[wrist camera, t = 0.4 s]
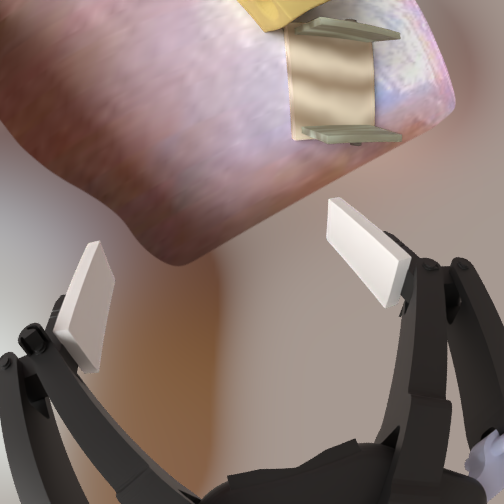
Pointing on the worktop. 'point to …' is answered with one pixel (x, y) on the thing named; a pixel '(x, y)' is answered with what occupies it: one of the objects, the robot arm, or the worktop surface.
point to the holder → (334, 81)
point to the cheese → (277, 11)
